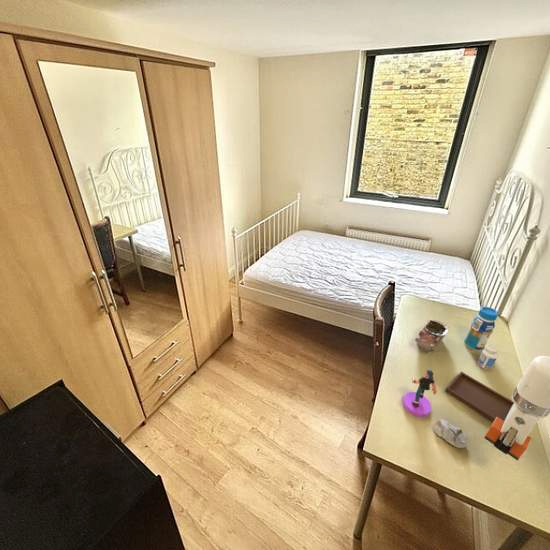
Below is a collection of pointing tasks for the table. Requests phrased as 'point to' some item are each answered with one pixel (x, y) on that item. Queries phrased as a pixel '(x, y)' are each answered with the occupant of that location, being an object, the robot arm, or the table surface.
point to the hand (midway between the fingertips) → (503, 443)
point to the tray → (479, 397)
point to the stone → (450, 433)
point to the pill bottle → (488, 357)
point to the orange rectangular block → (496, 432)
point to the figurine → (420, 396)
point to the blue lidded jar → (481, 329)
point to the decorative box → (431, 335)
